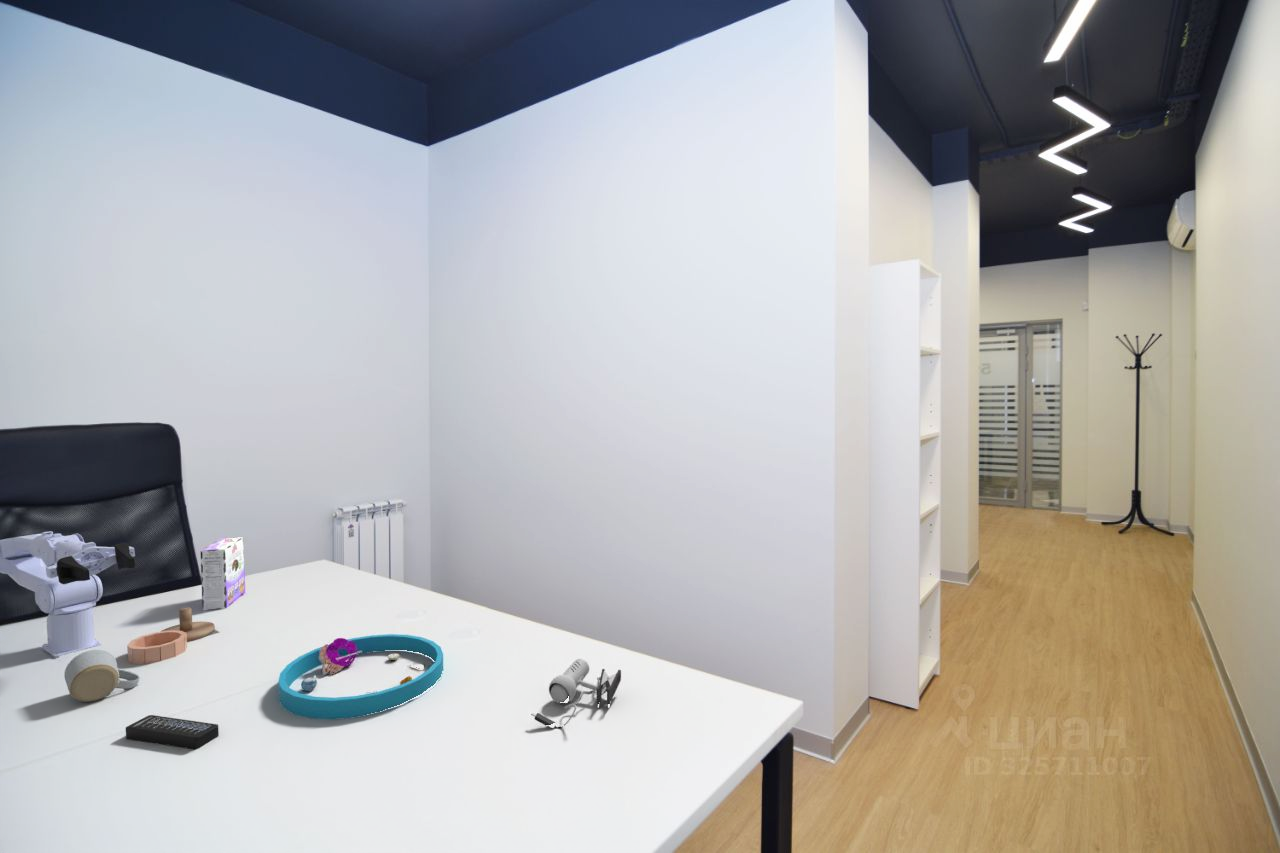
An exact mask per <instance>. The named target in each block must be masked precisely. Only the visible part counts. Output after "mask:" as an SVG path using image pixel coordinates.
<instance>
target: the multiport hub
mask: <svg viewBox="0 0 1280 853" xmlns="http://www.w3.org/2000/svg"><path fill="white" fill-rule="evenodd" d="M219 732H220V731H219V724H217V723H209V722H204V721H196V720H191V719H190V720H189V719H188V720H187V719H183V718H174V717H169V716H161V715H155V714H150V715H147V716H145V717H143V718H141V719H139V720H137V721H135V722H133V723H131V724H129V725H127V726H126V727H125V739H126V740H127V741H128V740H129V741H135V742H141V743H142V742H143V743H149V744H154V745H160V746H161V745H162V746H168V747H174V748H183V749H187V750H195V751H196V750H198V749H200V748H203V747H204V746H205V745H207V744H208V743H210V742H212V741H214V740H215V739H217V738H219V736H220V735H219Z"/></svg>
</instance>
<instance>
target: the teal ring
mask: <svg viewBox="0 0 1280 853" xmlns="http://www.w3.org/2000/svg"><path fill="white" fill-rule="evenodd" d="M385 650H407V651H413V652H419V653H422V654H424V655H427V656H429V657H431V658H432V659H433V660H434V661H435V663H434V662H433V664H432V665H431V666H429V667H428V668H429V669H427V670H426V671H424V672H423V673H421V674H420V675H418V676H416V678H412V676H411V675H408V676H406V677H405V678H403V679H402V680H400V681H399V683H400V685H397V686H392V687H390V688H389V687H388V688H387V689H383V690H379V691H376V690H374V691H370V692H369V691H366V693H364V694H359V695H352V696H339V697H332V696H331V697H329V696H326V697H325V696H314V695H309V694H305V693H299V691H296V690H294V689H292V688H290V687H291V686H292V685H293V683H294V681H296V680H298V679H299V678H300V677H301V676H303V675H304V674H306V673H308V672H309V671H312V670H314V669H316V668H319V666H322V668H323V669H322V671H321V673H322V675H323V676H326V675H328V673H330V674H333V675H336V674H337V673H338V671H340V672H341V671H342V670H343V668H346V666H347V667H349V665H352V664H353V662H354V661H355V659H356V658H357V654H358V655H362V654H361V653H364V654H368V653H367V652H370V653H374V652H373V651H382V652H386V651H385ZM387 657H388V660H389V661H391V660H395V661H397V660H399V657H400V653H397V652H396V653H390V654H388V655H387ZM396 659H397V660H396ZM411 665H412V664H410V665H409V666H411ZM416 668H417V667H416ZM418 669H420V668H418ZM442 671H443V672H444V652H443V650H442V648H441V646H440V645H438V643H437V642H434V640H430V639H427V638H425V637H421V636H416V635H410V634H393V633H389V634H373V635H366V636H360V637H353V638H349V639H346V638H345V637H338V638H336V639H334V640H333V641H332V642H331V643H329V644H324V645H323V646H320V647H317V648H314V649H312V650H310V651H308V652H306V653H304V654H302V655H300V656H298V657H297V658H295V659H294V660H292V661H291V662H289V663H288V664H287V665H286V666H285V667H284V668H283V669H282V670H281V671H280V673H279V677H278V682H277V685H278V689H277V690H278V701H279V703H280V705H281V707H282V709H284V710H286V711H288V712H290V713H291V714H293V715H294V716H300V717H304V718H307V719H317V720H341V719H342V718H343V719H352V718H351V717H355V718H359V717H358V716H361V717H364V716H363V715H365V716H368V715H367V714H370V715H372V714H371V713H375V712H380V711H383V710H385V709H388V708H391V707H394V706H397V705H400V704H402V703H404V702H406V701H408V700H410V699H412V698H414V697H416V696H418V695H420V694H422V693H423V692H424V691H426V690H427V689H428V688H430V687H431V686H433V685H434V684H435V683H436V681H437V680H438V679H439V678H440V677H441V674H442V675H443V673H442ZM332 672H334V673H332ZM335 673H336V674H335ZM330 674H329V675H330ZM316 677H317V676H316V675H313V677H311V676H310V677H306V678H304V679H303V680H302V681H301V683H300V685H301V686H300V687H301V689H302V690H303V691H304V692H310V691H313V690H314V689H315V688H316V687H317V684H318V680H317V678H316ZM441 678H442V677H441ZM383 712H384V711H383ZM380 713H381V712H380ZM375 714H376V713H375Z"/></svg>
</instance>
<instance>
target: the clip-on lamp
mask: <svg viewBox="0 0 1280 853" xmlns="http://www.w3.org/2000/svg"><path fill="white" fill-rule="evenodd" d="M589 672H590V665H589V663H588V662H587V660H585V659H583V658H577V659H575V660H574V661H573V662H572V664H571V665H569V667H568V668H567V669H566V670H565V671H564V672H563V673H562V674H559V675H557V676H555V677H554V678H552V680H551V681H550V683H549V685H548V693H549V695H550V698H551V699H552V700H553V702H555V703H557V702H558V703H557V704H560V702H564V701H565V700H566V699H567V698H568V696H569V701H570V702H572V700H573V699H574V698H575V696H576V693H577V688H578V686H581V687H584V688H587V689H590V690H589V691H587V690H582V691H581V693H580V695H579V697H578V699H577V700H575V701H574V702H572V703H570V702H569V701H568V702H569V703H570V704H566V705H565V706H564V707H563V709H564V710H566V709H570V708H574V709H573V712H572V713H571V715H570V717H569V718H568V720H567V721H566V722H565V723H564V724H563V725H564V727H565V726H566V725H567V724H568V723H569V722H570V721H571V720H572V718H573V716H574V714H575V712H576V710H577V704H578V703H579V702H580V701H581V700H582V698H583V695H584V694H585V695H592V694H593V693H596V705H597V704H599V702H600V703H601V700H600V699H601V698H602V696H603V695H604V694H605V693H606V705H607V704H610V701H611V702H612V700H613V698H614V695H615V694H616V691H617V690H618V687H619V686H620V683H621V681H622V670H621V669H617V672H616V673H614V674H613V675H610V676H609V675H608V673H607V672H606V670H605V668H602V669H601V673H600V674H601V675H600V677H598V676H597V677H596V679H597V682H596V683H597V684H594V683H590V682H588V681H585V680H584V679H585V678H586V676H588V674H589ZM530 715H531V716H533V717H534V721H537V722H538V723H540V724H542V725H544V726H546V725H551V724H553V723H556V722H555V721H554V720H551V719H550V718H548V717H546V716H544V715H543V714H541V713H539V712H537V713H536V714H535V713H534V712H533V713H531V714H530Z"/></svg>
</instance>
